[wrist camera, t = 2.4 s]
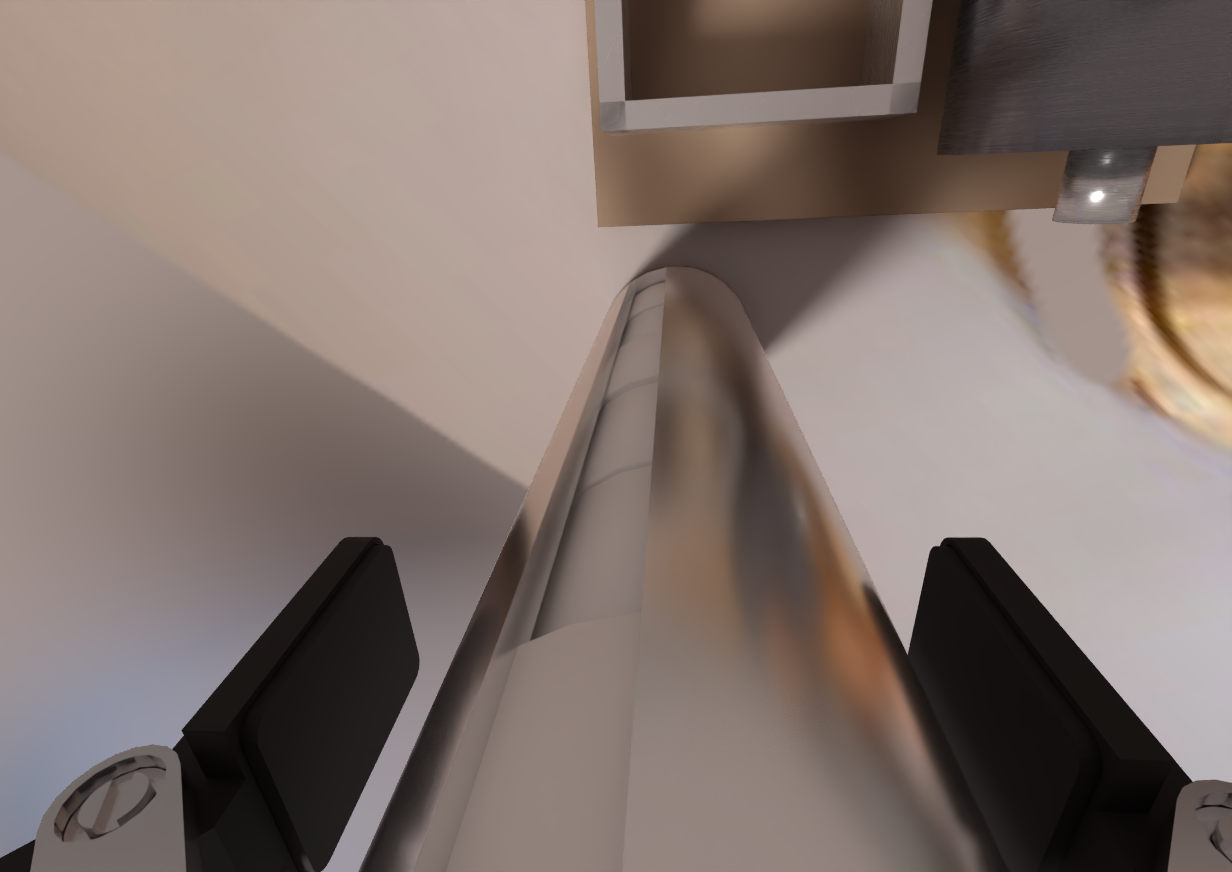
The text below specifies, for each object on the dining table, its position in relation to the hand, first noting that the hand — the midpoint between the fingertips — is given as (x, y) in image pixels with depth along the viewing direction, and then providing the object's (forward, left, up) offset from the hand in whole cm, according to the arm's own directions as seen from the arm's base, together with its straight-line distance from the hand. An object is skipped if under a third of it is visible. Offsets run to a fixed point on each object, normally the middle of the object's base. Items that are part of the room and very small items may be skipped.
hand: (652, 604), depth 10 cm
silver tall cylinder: (0, 0, -18) cm, 18 cm away
